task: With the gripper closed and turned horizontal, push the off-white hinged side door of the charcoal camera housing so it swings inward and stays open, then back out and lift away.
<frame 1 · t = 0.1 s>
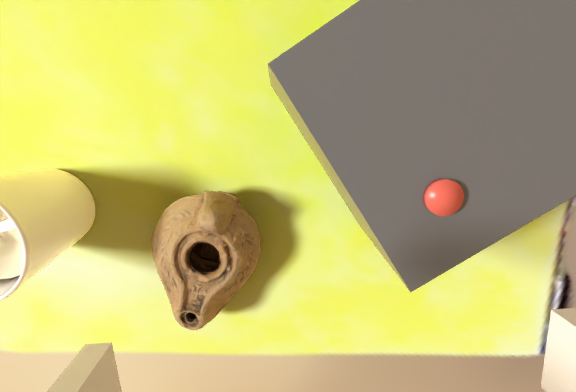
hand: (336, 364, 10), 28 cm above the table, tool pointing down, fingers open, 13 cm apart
candle holder: (58, 205, 37), on the table
oil lamp: (212, 248, 39), on the table
camera housing: (390, 111, 36), on the table
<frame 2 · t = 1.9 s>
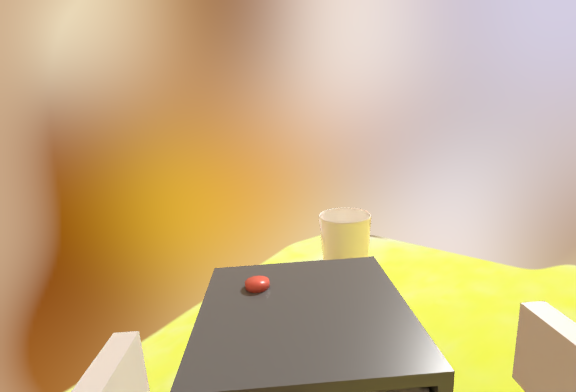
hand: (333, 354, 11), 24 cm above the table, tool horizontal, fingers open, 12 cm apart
candle holder: (345, 273, 69), on the table
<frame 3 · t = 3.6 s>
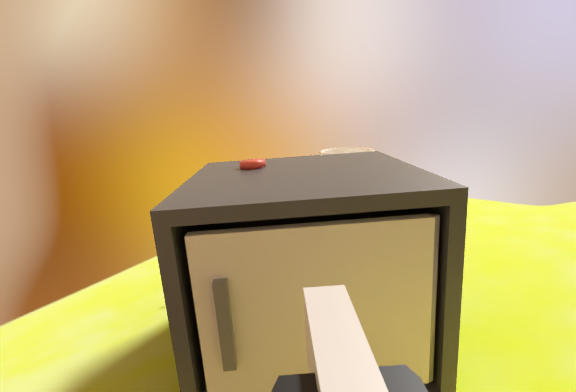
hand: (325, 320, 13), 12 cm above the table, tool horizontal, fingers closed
side door: (318, 314, 22), point 8 cm above the table, hinge at 0.0°
candle holder: (348, 214, 66), on the table
camera housing: (308, 332, 32), on the table
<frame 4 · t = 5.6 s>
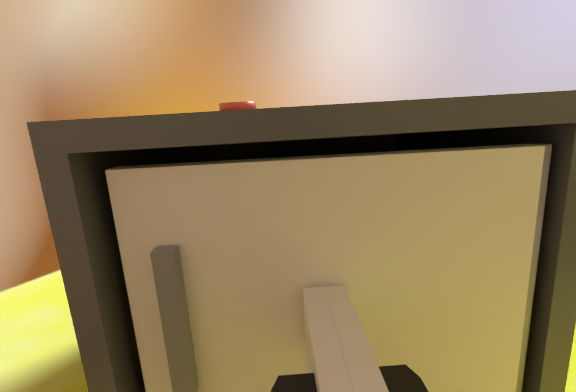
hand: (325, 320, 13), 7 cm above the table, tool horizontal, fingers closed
side door: (332, 311, 13), point 8 cm above the table, hinge at 2.6°, touching gripper
camera housing: (313, 341, 23), on the table
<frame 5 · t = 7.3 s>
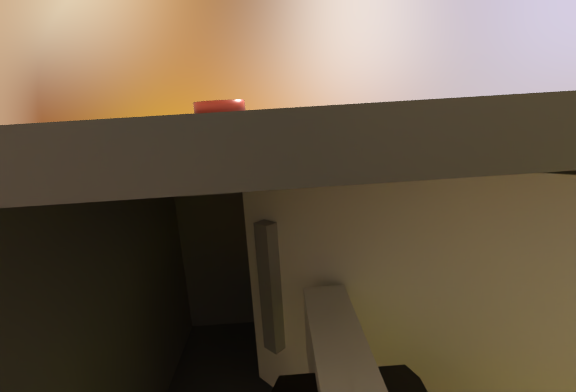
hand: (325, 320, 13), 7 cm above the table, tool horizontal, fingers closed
side door: (397, 337, 11), point 8 cm above the table, hinge at 46.4°, touching gripper
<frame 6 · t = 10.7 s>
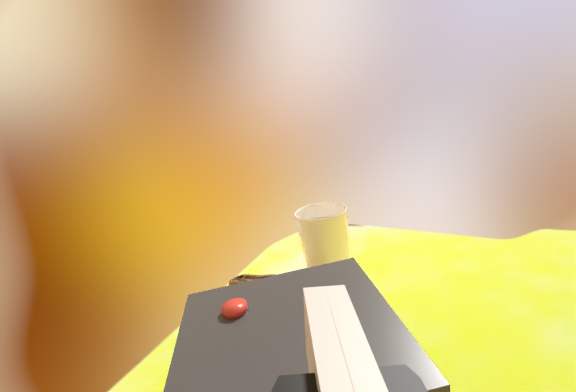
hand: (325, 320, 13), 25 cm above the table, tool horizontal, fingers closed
candle holder: (329, 269, 67), on the table
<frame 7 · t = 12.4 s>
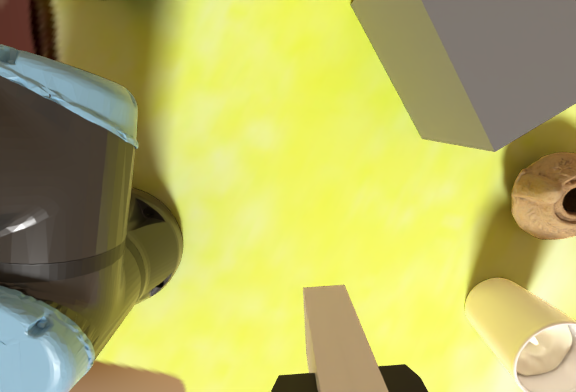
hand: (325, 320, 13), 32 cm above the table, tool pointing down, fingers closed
candle holder: (492, 302, 50), on the table
oil lamp: (547, 191, 46), on the table
camera housing: (454, 31, 41), on the table
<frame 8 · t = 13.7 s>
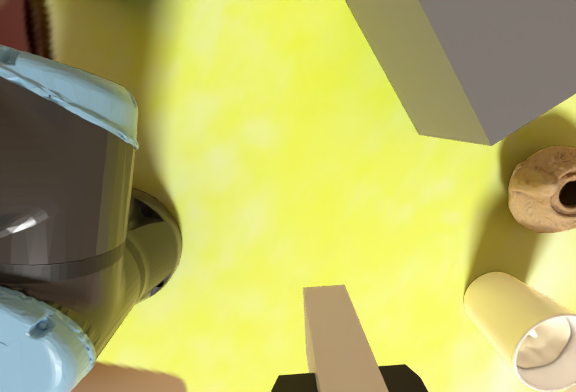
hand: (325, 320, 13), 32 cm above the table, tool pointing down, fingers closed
candle holder: (490, 296, 50), on the table
oil lamp: (544, 185, 46), on the table
camera housing: (449, 27, 41), on the table
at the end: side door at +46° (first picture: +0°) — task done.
